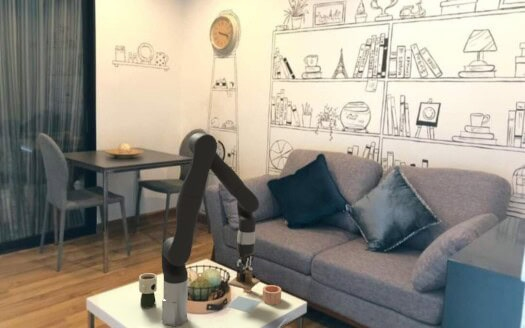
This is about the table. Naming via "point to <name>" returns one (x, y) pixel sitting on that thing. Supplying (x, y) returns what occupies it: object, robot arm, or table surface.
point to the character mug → (148, 289)
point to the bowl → (271, 294)
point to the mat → (243, 304)
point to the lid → (247, 283)
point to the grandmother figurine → (251, 288)
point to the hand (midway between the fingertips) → (244, 279)
